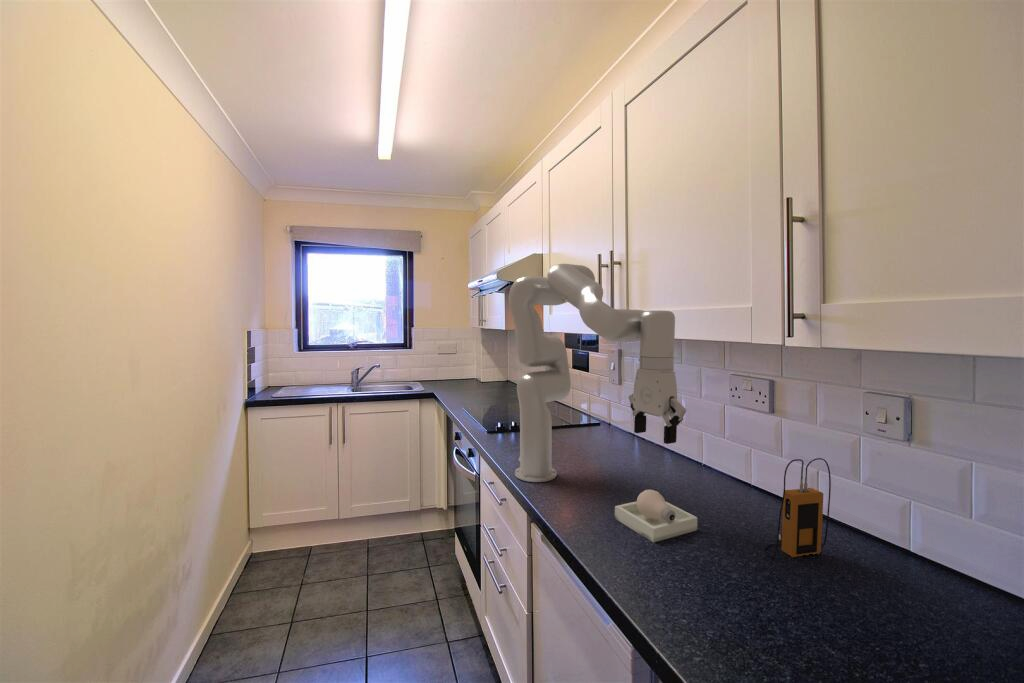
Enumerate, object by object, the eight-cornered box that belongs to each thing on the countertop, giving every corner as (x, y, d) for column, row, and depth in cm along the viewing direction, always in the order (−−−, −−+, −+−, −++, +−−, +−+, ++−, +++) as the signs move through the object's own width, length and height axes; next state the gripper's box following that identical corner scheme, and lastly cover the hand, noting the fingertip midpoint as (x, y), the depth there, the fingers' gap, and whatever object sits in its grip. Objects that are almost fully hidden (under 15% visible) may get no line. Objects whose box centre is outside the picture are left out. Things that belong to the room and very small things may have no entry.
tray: (614, 518, 110) (614, 506, 110) (656, 508, 116) (656, 496, 116) (653, 542, 99) (653, 529, 98) (697, 530, 104) (697, 517, 104)
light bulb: (682, 498, 101) (651, 481, 111) (657, 509, 99) (628, 490, 109) (687, 526, 102) (656, 506, 112) (662, 537, 100) (633, 516, 110)
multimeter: (796, 530, 104) (800, 444, 103) (836, 553, 94) (840, 457, 93) (740, 537, 101) (743, 448, 100) (775, 561, 91) (778, 462, 90)
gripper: (619, 361, 112) (617, 430, 113) (672, 369, 96) (669, 449, 97) (643, 359, 115) (641, 427, 116) (698, 367, 99) (695, 445, 100)
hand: (654, 437), depth 107 cm, fingers open, 9 cm apart
